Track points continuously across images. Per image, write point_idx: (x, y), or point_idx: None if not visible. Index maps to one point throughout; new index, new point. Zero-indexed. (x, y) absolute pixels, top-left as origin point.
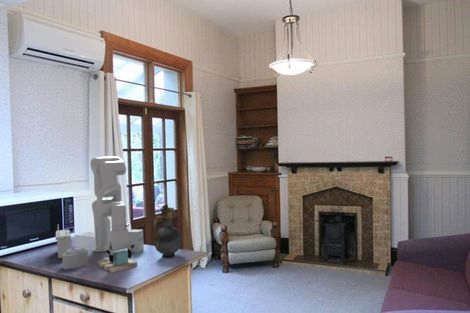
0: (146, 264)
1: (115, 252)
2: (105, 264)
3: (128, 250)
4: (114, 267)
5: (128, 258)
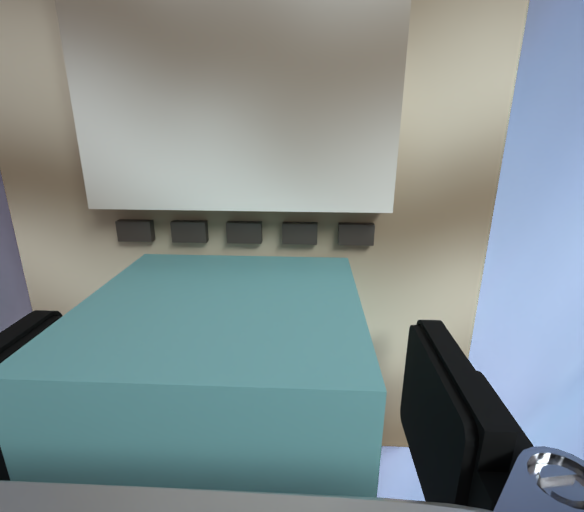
0: (546, 442)
1: (48, 478)
2: (25, 182)
3: (471, 500)
4: None
5: (498, 157)
